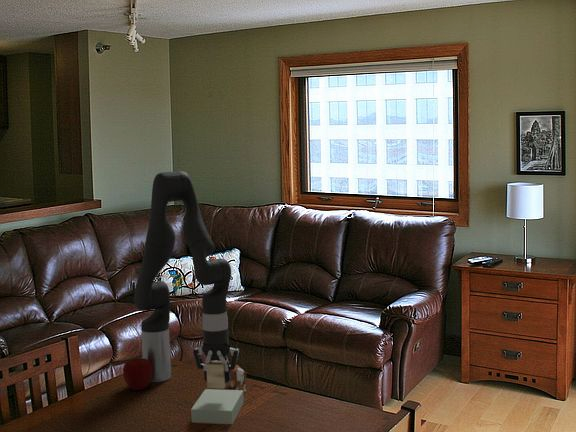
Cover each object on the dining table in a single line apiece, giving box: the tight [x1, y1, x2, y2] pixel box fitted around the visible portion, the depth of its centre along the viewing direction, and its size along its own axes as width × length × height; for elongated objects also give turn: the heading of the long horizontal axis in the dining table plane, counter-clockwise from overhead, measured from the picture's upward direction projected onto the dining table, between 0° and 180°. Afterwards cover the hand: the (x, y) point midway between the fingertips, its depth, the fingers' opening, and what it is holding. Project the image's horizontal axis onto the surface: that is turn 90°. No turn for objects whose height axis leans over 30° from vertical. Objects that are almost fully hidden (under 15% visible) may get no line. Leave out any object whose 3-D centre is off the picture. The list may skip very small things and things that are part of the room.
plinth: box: [190, 388, 245, 425], centre depth 220 cm, size 16×12×4 cm
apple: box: [122, 357, 153, 391], centre depth 240 cm, size 10×10×10 cm
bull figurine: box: [230, 364, 248, 393], centre depth 238 cm, size 4×13×8 cm, turn 15°
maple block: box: [206, 360, 228, 389], centre depth 218 cm, size 5×5×7 cm
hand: (217, 382), depth 218 cm, fingers closed on maple block, 5 cm apart
